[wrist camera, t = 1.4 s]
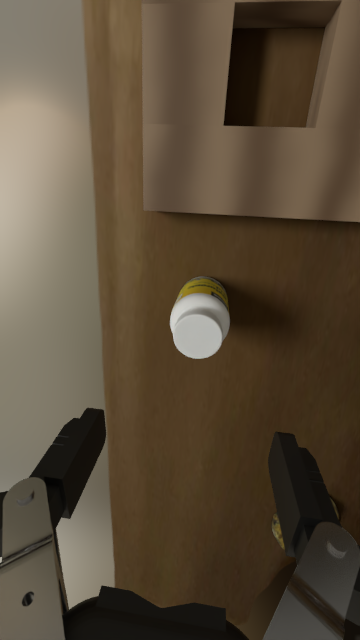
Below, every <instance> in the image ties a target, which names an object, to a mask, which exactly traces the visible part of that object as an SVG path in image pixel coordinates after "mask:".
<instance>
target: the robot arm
mask: <svg viewBox="0 0 360 640" xmlns="http://www.w3.org/2000/svg"><path fill="white" fill-rule="evenodd" d="M105 438H106V427H105V416H104V410H102V409H94V408H87V409H86V410H85V411H84V413H83V414H82V416H81V417H80V419H79V418H73V419H72V420H71V421H69V422H68V423H67V424H66V425H64V427H63V428H62V430H61V431H60V433H59V434H58V437H56V439H55V440H54V442H53V444H52V445H51V446H50V448H49V449H48V450H47V452H46V454H45V455H44V456H43V458H42V459H41V461H40V462H39V464H38V465H37V467H36V468H35V470H34V471H33V472H32V474H31V475H30V477H29V478H27V479H24V480H22V481H20V482H18V483H17V484H15V485H14V486H13V487H12V488H11V489H10V490H9V491H6V492H1V493H0V557H2V562H1V563H0V640H249V639H248V638H247V637H246V636H245V635H244V634H243V633H242V632H241V631H240V630H239V629H238V628H237V627H236V626H234V625H233V624H232V623H230V622H228V621H227V620H226V609H225V608H220V607H215V606H209V605H204V604H198V603H189V604H184V605H178V606H172V607H167V608H159V607H157V606H156V605H154V604H152V603H151V602H149V601H147V600H146V599H144V598H142V597H140V596H139V595H137V594H135V593H134V592H132V591H129V590H123V589H118V588H112V587H107V586H101V589H100V593H99V596H97V597H93V598H90V599H87V600H85V601H83V602H81V603H79V604H77V605H76V606H74V607H72V608H71V609H70V610H69V607H68V601H67V595H66V590H65V585H64V579H63V572H62V566H61V559H60V552H59V545H58V539H57V532H56V527H57V525H58V523H59V521H60V519H61V517H62V518H68V519H70V518H71V515H72V513H73V511H74V509H75V507H76V505H77V503H78V501H79V498H80V496H81V494H82V492H83V490H84V488H85V485H86V483H87V481H88V479H89V477H90V474H91V472H92V470H93V468H94V466H95V463H96V461H97V459H98V457H99V455H100V453H101V450H102V448H103V446H104V443H105ZM268 466H269V473H270V478H271V483H272V488H273V493H274V498H275V503H276V508H277V513H278V518H279V523H280V528H281V533H282V538H283V543H284V548H285V553H286V556H291V557H296V561H297V565H298V566H297V568H296V570H295V572H294V574H293V576H292V578H291V580H290V582H289V584H288V586H287V588H286V591H285V593H284V595H283V597H282V599H281V601H280V603H279V606H278V608H277V610H276V612H275V614H274V616H273V618H272V621H271V623H270V625H269V627H268V629H267V632H266V634H265V636H264V638H263V640H342V639H343V636H344V626H343V624H344V620H345V618H347V619H348V620H350V621H352V622H354V623H356V624H357V625H359V626H360V546H359V545H357V544H356V542H355V540H354V539H353V538H352V536H351V535H350V534H349V533H348V532H347V531H346V530H344V529H343V528H342V526H341V524H340V522H339V520H338V517H337V514H336V512H335V509H334V507H333V504H332V502H331V499H330V496H329V494H328V491H327V489H326V486H325V484H324V483H323V478H322V476H321V474H320V471H319V468H318V466H317V463H316V460H315V459H314V457H313V456H312V455H311V454H310V452H309V451H308V450H307V449H306V448H301V447H298V444H297V442H296V439H295V436H294V435H293V434H290V433H282V432H275V434H274V437H273V441H272V445H271V449H270V453H269V459H268Z"/></svg>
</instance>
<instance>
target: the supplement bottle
mask: <svg viewBox="0 0 360 640" xmlns="http://www.w3.org/2000/svg"><path fill="white" fill-rule="evenodd" d="M229 326H230V316H229V307H228V298H227V294H226V291H225V289H224V288H223V286H222V285H221V284H220V283H219V282H218V281H216V280H215V279H212V278H209V277H197V278H193V279H191V280H190V281H188V282H187V283H186V284H185V285H184V286H183V288H182V289H181V291H180V293H179V296H178V298H177V300H176V303H175V305H174V307H173V310H172V313H171V317H170V327H171V330H172V333H173V340H174V343H175V345H176V347H177V348H178V350H179V351H180V352H181V353H183V354H184V355H186V356H188V357H191V358H196V359H202V358H207V357H209V356H211V355H213V354H214V353H216V352H217V351H218V349H219V348H220V346H221V344H222V341H223V340H224V338H225V337H226V335H227V333H228V330H229Z"/></svg>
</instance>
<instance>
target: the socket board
mask: <svg viewBox="0 0 360 640" xmlns="http://www.w3.org/2000/svg"><path fill="white" fill-rule="evenodd" d="M317 27H325V31H324V36H323V41H322V47H321V52H320V57H319V62H318V67H317V72H316V77H315V82H314V88H313V93H312V98H311V103H310V108H309V113H308V118H307V123H306V128H295V127H253V126H223V125H224V114H225V104H226V93H227V82H228V71H229V60H230V49H231V39H232V28H317ZM142 91H143V210H147V211H165V212H184V213H202V214H221V215H239V216H258V217H276V218H294V219H313V220H331V221H350V222H360V0H142Z"/></svg>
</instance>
